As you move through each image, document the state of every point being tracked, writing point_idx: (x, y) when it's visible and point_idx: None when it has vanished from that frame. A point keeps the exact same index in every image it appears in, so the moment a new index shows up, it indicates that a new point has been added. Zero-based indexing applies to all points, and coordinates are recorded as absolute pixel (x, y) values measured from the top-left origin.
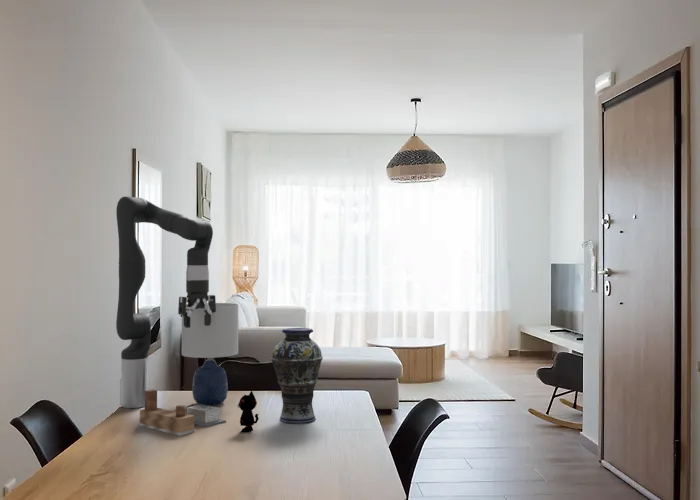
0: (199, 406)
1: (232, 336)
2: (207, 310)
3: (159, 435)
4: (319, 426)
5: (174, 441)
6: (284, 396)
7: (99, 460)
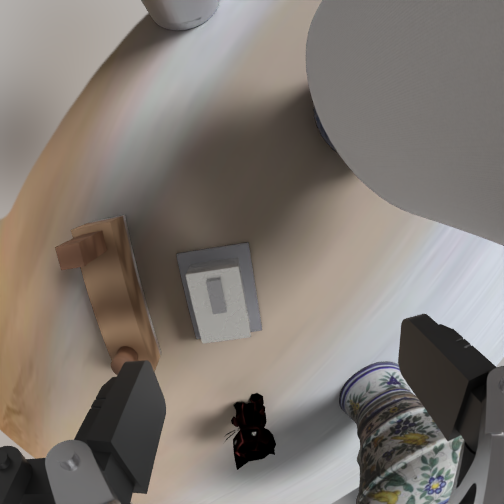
0: (210, 302)
1: None
2: (453, 492)
3: (97, 326)
4: (357, 435)
5: (108, 377)
6: (360, 427)
7: (10, 373)
